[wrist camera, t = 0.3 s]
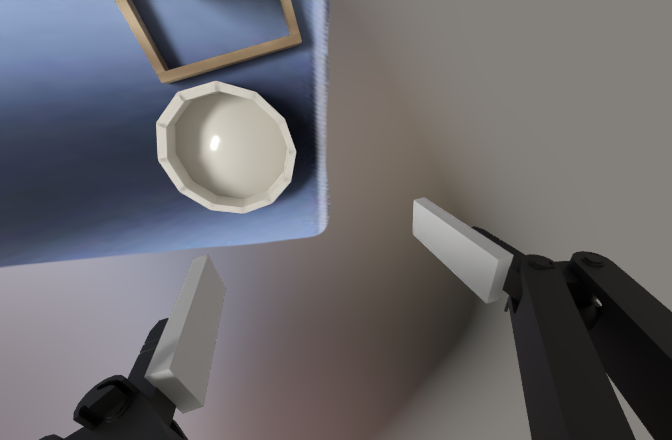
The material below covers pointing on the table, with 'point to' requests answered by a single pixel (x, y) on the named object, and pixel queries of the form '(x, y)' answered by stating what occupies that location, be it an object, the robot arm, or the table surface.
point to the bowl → (225, 147)
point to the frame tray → (212, 63)
